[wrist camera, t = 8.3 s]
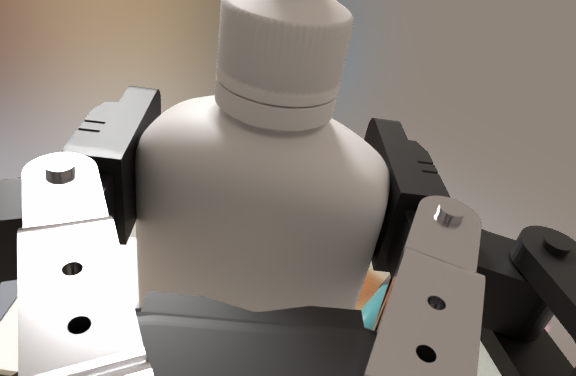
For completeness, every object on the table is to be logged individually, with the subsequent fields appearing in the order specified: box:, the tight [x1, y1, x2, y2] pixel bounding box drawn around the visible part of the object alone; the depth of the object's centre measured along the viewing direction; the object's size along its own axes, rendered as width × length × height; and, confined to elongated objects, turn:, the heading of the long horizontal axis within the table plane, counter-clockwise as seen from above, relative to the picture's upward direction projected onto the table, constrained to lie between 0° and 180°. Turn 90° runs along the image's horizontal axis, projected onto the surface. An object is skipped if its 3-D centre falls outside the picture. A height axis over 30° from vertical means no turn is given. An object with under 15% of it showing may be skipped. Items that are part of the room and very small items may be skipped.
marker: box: [361, 275, 391, 330], centre depth 29 cm, size 12×2×2 cm, turn 143°
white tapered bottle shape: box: [135, 0, 390, 312], centre depth 11 cm, size 4×6×12 cm
